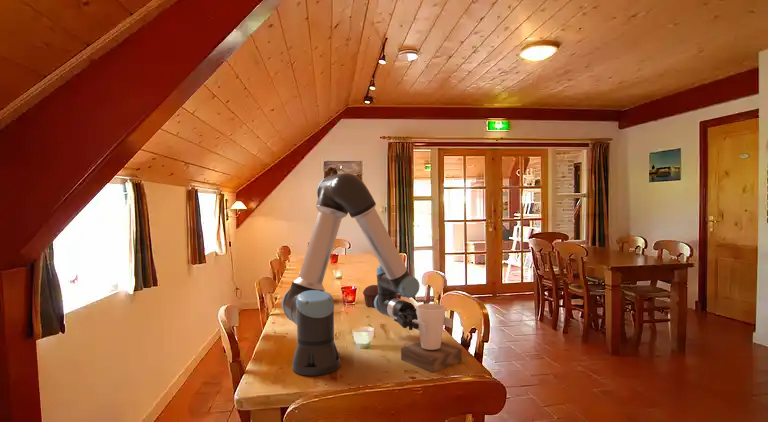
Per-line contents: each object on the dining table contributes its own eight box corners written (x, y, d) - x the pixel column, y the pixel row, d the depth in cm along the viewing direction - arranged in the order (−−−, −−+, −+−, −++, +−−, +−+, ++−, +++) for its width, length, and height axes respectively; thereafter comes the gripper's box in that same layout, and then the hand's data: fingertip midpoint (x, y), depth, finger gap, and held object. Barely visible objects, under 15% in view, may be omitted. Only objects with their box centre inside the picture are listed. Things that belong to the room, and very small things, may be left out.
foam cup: (449, 344, 142) (449, 306, 142) (437, 353, 135) (437, 312, 134) (424, 339, 148) (424, 302, 147) (411, 347, 140) (411, 308, 139)
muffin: (388, 303, 218) (388, 283, 218) (383, 308, 207) (383, 288, 207) (366, 302, 221) (365, 283, 221) (360, 307, 210) (359, 287, 210)
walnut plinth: (431, 372, 131) (431, 359, 131) (401, 359, 142) (401, 347, 142) (461, 360, 140) (461, 348, 140) (430, 349, 151) (430, 338, 151)
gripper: (426, 316, 162) (465, 331, 143) (375, 325, 151) (409, 344, 132) (426, 296, 162) (465, 309, 142) (374, 304, 151) (409, 319, 131)
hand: (438, 326), depth 137 cm, fingers open, 10 cm apart
